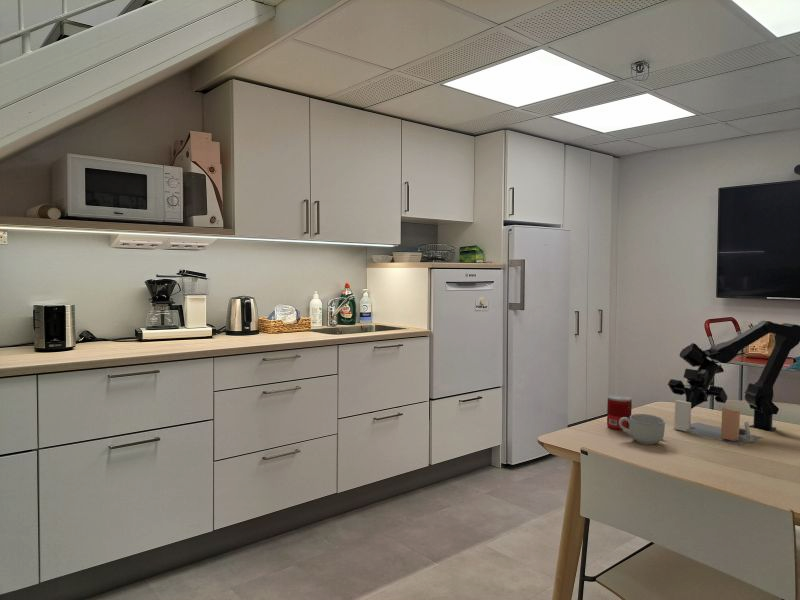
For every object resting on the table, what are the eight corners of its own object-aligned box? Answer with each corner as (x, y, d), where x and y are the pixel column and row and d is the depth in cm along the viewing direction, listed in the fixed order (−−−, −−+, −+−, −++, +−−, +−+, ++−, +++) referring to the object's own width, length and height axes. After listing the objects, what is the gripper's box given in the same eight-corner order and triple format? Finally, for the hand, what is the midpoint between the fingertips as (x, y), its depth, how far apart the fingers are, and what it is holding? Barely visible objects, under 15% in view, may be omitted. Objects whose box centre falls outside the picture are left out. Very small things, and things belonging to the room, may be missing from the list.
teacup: (664, 439, 187) (665, 416, 187) (664, 449, 178) (665, 423, 177) (619, 434, 193) (620, 411, 193) (617, 442, 183) (618, 418, 183)
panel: (697, 425, 206) (697, 405, 206) (763, 440, 188) (764, 418, 187) (672, 431, 197) (673, 410, 197) (739, 448, 179) (740, 425, 179)
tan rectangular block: (724, 436, 188) (725, 407, 187) (740, 439, 184) (741, 410, 183) (719, 437, 186) (720, 408, 186) (735, 441, 182) (736, 411, 181)
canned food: (632, 431, 197) (633, 400, 196) (608, 429, 199) (609, 398, 198) (628, 425, 204) (629, 395, 204) (605, 424, 206) (606, 394, 206)
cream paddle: (677, 426, 198) (678, 399, 198) (691, 430, 194) (692, 402, 194) (672, 428, 196) (673, 400, 196) (686, 431, 192) (687, 403, 192)
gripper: (671, 357, 206) (653, 390, 200) (724, 364, 191) (706, 400, 185) (682, 376, 211) (664, 409, 205) (735, 384, 195) (717, 420, 190)
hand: (687, 409), depth 196 cm, fingers closed
